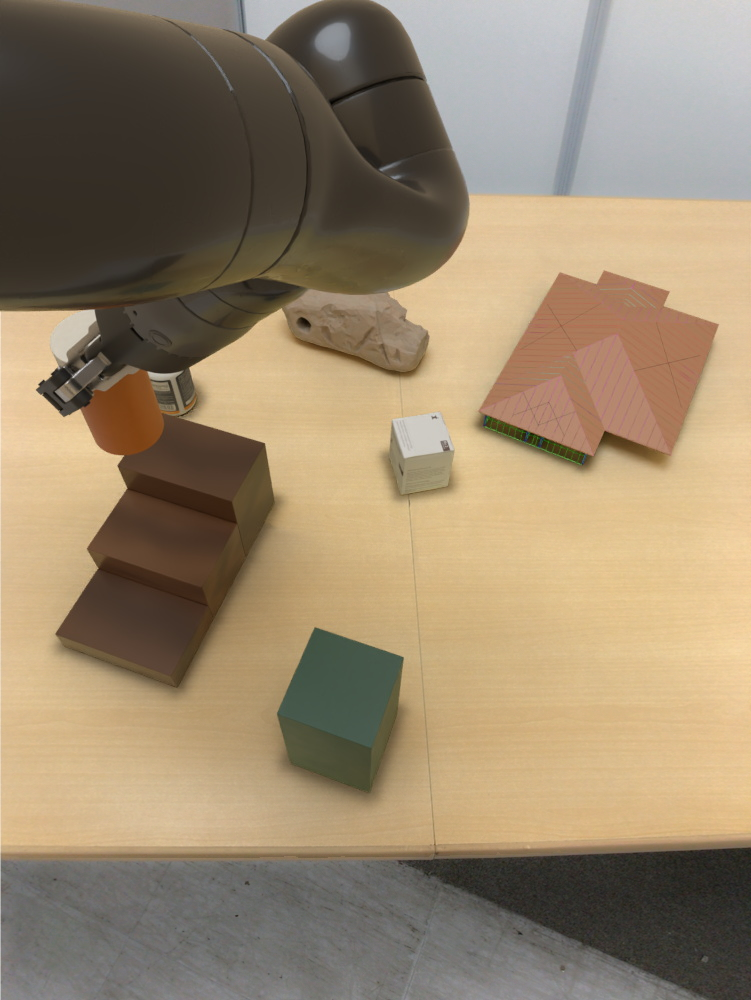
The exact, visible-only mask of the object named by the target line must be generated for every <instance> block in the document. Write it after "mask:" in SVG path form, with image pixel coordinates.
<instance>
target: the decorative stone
mask: <svg viewBox="0 0 751 1000" xmlns="http://www.w3.org/2000/svg"><path fill="white" fill-rule="evenodd" d="M281 310H282V312H283V315H284V316H285V318H286V322H287V325H288V329H289V330H290V331H291V332H292V334H293V336H294V337H295V338H297V339H299V340H301V341H303V342H307V343H311V344H315V345H317V346H319V347H324V348H328V349H332V350H335V351H337V352H342V353H344V354H348V355H352V356H356V357H359V358H361V359H363V360H365V361H368V362H370V363H371V364H374V365H375V366H378V367H380V368H381V369H382V368H383V369H385V370H387V371H396V372H400V373H407V372H411V371H413V370H415V369H416V368H417V367H418V366H419V364H420V362H421V359H422V358H424V356H425V354H426V352H427V350H428V346H429V344H430V334H429V330H428V329H425V328H424V327H423V326H422V325H421V324H420V325H419V324H415V323H413V322H412V321H410V320H408V319H407V318H406V317H407V313H408V309H407V308H406V307H404V306H402V305H401V303H400V302H399V301H398V300H397V299H395V298H393V297H391V296H390V294H389V292H385V293H379V294H368V295H346V294H337V293H329V292H322V291H318V290H313V289H310V290H308V291H307V292H306V293H305V294H304V295H303V296H301V297H300V298H298V299H297V300H295V301H293V302H292V303H290V304H289V305H287V306H285V307H283V308H281Z"/></svg>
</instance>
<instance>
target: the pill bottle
mask: <svg viewBox="0 0 751 1000" xmlns="http://www.w3.org/2000/svg"><path fill="white" fill-rule="evenodd" d="M147 372H148V371H147ZM148 375H149V378H150V381H151V384H152V387H153V390H154V393H155V396H156V399H157V402H158V405H159V408H160V411H161V413H164V414H168V415H171V416H175V417H179V416H181V415H184V414H186V413H188V412H189V411H190V410H191V409H193V407H194V406H195V405H196V402H197V398H198V397H197V391H196V388H195V384H194V380H193V377H192V373H191V370H190V368H188V369H186V370H183V371H180V372H177V373H171V374H158V373H152V372H148Z"/></svg>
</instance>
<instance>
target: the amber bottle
mask: <svg viewBox="0 0 751 1000" xmlns="http://www.w3.org/2000/svg"><path fill="white" fill-rule="evenodd" d="M95 321H96V316H95V310H79V311H76V312H74V313H73V314H70V315H68V316H67V317H66V318H64V319H63V320H61V321H60V322H58V324H57V325H56V326H55V327H54V329H53V330H52V332H51V335H50V337H49V348H50V351H51V353H52V356H53V358H54V359H55V361H56V363H57V367H58V366H60V365H61V366H63V365H64V364H66V363H67V362H68V358H67V355H66V354H67V351H68V350H69V349H70V348H72V347H73V346H74V345H75V344H76V343H77V342H79V341H80V340H81V339H82V338H83V337H84V336H85V335H87V334H88V328H89V326H90V325H91V324H93V323H94V322H95ZM99 336H100V335H99ZM99 336H97V337H96V338H95V339H94V340H93V341H92V342H90V343H89V345H88V347H89V346H90V345H91V344H92V343H93V342H94V341H95V340H96V339H97V338H98V337H99ZM71 369H73V370H74V371H75V372H77V371H78V370H79V369H78V368H77V367H73V368H71ZM90 383H91V382H90ZM90 383H89V384H90ZM93 392H94V395H93V398H92V399H91V400H90V402H91V403H90V404H89V405H88V406H86V407H85V408H84V407H82V408H81V409H79V411H80V412H81V414H82V416H83V419H84V420H85V423H86V425H87V427H88V429H89V432H90V433H91V435H92V438H93V440H94V442H95V444H96V445H97V446H98V448H99V449H100V450H102V451H104V452H106V453H107V454H110V455H115V456H124V455H132V454H136V453H139V452H142V451H144V450H146V449H148V448H149V447H151V446H152V445H153V444H154V443H155V442H156V441H157V440H158V439H159V438H160V436H161V434H162V432H163V429H164V420H163V417H162V414H161V411H160V408H159V405H158V402H157V399H156V396H155V393H154V390H153V387H152V384H151V381H150V378H149V375H148V372H147V371H145V370H141V369H140V370H139V371H137V372H136V373H135V374H127V375H126V376H125V377H123V378H122V379H121V380H119V381H118V382H117V383H116V384H114V385H113V386H112V387H111V388H109V389H108V390H107V391H100V390H98V389H96V390H94V391H93Z"/></svg>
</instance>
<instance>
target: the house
mask: <svg viewBox="0 0 751 1000" xmlns="http://www.w3.org/2000/svg"><path fill="white" fill-rule="evenodd" d="M670 292H671V291H670V290H667V289H665V288H664V289H663V288H660V287H658V286H654V285H651V284H648V283H645V282H642V281H638V280H635V279H633V278H630V277H625V276H623V275H620V274H617V273H614V272H610V271H607V270H603V271H602V273H601V275H600V277H599V279H598V280H597V282H596V283H594V282H591V281H588V280H585V279H582V278H579V277H575V276H573V275H570V274H567V273H563V272H559V273H558V274H557V276H556V278H555V279H554V281H553V283H552V284H551V287H549V290H548V292H547V293H546V295H545V297H544V298H543V301H542V302H541V303H540V305H539V307H538V309H537V310H536V312H535V314H534V315H533V317H532V319H531V321H530V322H529V323H528V325H527V327H526V329H525V331H524V332H523V334H522V335H521V338H520V339H519V340H518V343H517V344H516V346H515V348H514V349H513V351H512V353H511V354H510V356H509V358H508V360H507V361H506V363H505V365H504V367H503V368H502V370H501V372H500V373H499V375H498V377H497V379H496V380H495V381H494V384H493V385H492V386H491V389H490V390H489V392H488V394H487V395H486V396H485V399H484V401H483V402H482V404H481V406H480V407H479V408H478V411H477V412H478V413H480V414H483V415H485V416H484V420H483V426H482V427H484V428H485V429H488V430H491V431H493V432H496V433H499V434H501V435H503V436H506V437H509V438H511V439H514V440H517V441H518V442H521V443H524V444H527V445H529V446H532V447H534V448H537V449H539V450H542V451H543V452H546V453H549V454H551V455H555V456H557V457H560V458H562V459H565V460H567V461H570V462H572V463H575V464H578V465H580V466H583V465H584V463H585V460H586V458H587V456H589V457H590V456H591V457H594V456H595V453H596V451H597V449H598V447H599V444H600V442H601V441H602V439H603V436H604V433H605V432H607V433H609V434H611V435H614V436H617V437H619V438H622V439H624V440H628V441H630V442H633V443H635V444H638V445H641V446H643V447H647V448H649V449H651V450H653V451H656V452H659V453H661V454H665V455H667V456H669V457H671V456H672V454H673V451H674V448H675V446H676V442H677V440H678V437H679V434H680V431H681V429H682V426H683V424H684V421H685V417H686V416H687V412H688V410H689V408H690V404H691V402H692V398H693V396H694V393H695V392H696V388H697V386H698V383H699V380H700V377H701V374H702V371H703V369H704V367H705V363H706V361H707V358H708V356H709V352H710V351H711V348H712V344H713V342H714V339H715V336H716V334H717V331H718V328H719V325H720V324H719V323H717V322H714V321H710V320H708V319H705V318H701V317H698V316H695V315H692V314H688V313H685V312H683V311H680V310H677V309H674V308H670V307H668V306H666V305H665V303H666V301H667V299H668V297H669V296H670V295H669V294H670ZM489 420H490V421H491V423H490V427H488V426H486V424H487V423H488V421H489ZM497 420H498V421H497ZM493 422H495V423H497V424H496V429H493V428H492V424H493ZM499 424H501V425H503V428H502V431H498V426H499ZM505 426H506V427H508V428H509V430H508V434H506V433H503V432H504V430H505V429H504V428H505ZM511 429H513V430H515V433H514V436H512V435H510V431H511ZM520 429H521V430H520ZM517 431H518V432H521V435H520V439H519V438H516V434H517ZM523 433H524V434H525V438H524V440H521V439H522V436H523ZM533 434H534V435H533ZM536 435H537V436H536ZM530 436H531V437H533V438H532V441H531V443H529V442H527V440H528V439H529V437H530ZM535 438H536V441H535V444H533V443H534V439H535ZM538 440H540V441H539V443H538V445H537V442H538ZM544 441H545V442H547V446H546V447H545V448H542V447H541V446H542V444H543V442H544ZM553 442H554V443H553ZM557 443H558V444H557ZM549 444H552V445H553V448H552V451H549V450H547V449H548V446H549ZM559 444H560V445H559ZM555 446H557V447H560V448H559V451H558V453H555V452H554V450H555ZM561 449H565V450H566V452H565V454H564V456H562V455H561V454H560V452H561ZM568 451H570V452H572V455H571V457H570V458H567V457H566V455H567V452H568ZM576 451H578V452H576ZM582 453H583V454H582ZM574 454H577V455H579V456H578V459H577V461H575V460H572V459H573V457H574ZM580 456H582V457H583V459H582V461H581V463H580V462H579V459H580Z"/></svg>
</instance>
